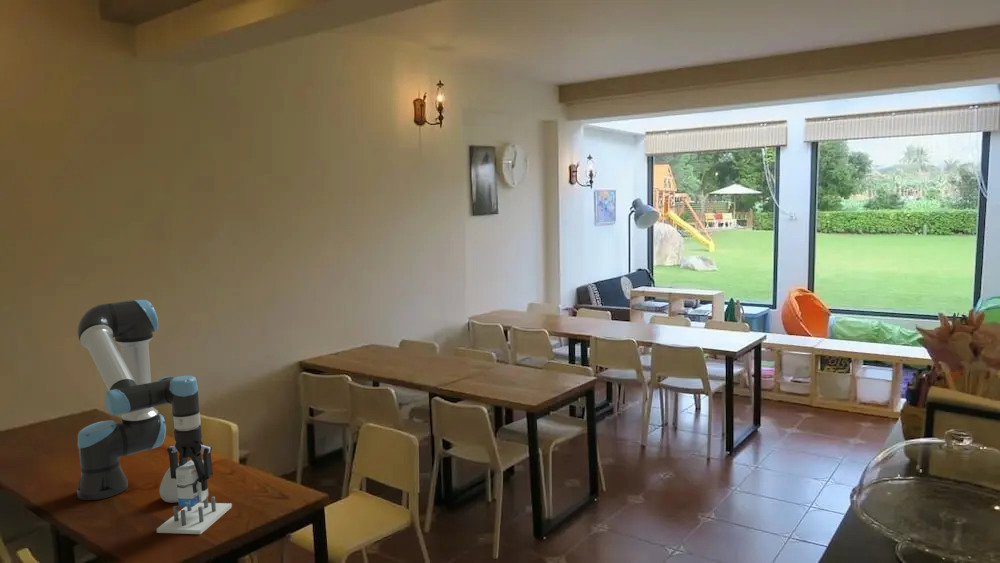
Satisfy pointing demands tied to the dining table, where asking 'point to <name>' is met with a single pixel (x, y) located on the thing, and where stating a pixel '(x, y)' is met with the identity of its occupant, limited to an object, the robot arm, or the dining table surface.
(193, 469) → the ink box
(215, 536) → the dining table surface
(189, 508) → the peg board
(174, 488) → the toy character
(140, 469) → the dining table surface
